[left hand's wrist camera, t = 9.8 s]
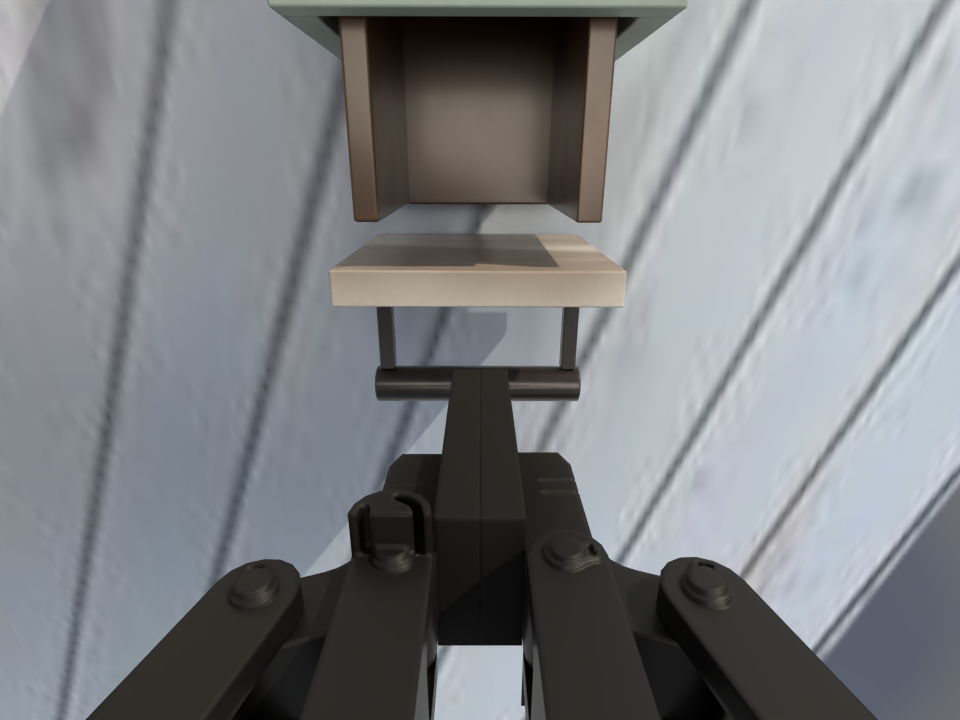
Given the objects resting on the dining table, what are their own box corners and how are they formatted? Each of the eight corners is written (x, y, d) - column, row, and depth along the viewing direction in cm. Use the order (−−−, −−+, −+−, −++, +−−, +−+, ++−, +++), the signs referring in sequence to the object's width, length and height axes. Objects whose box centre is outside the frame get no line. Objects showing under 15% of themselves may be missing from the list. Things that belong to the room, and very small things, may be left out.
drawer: (569, 360, 28) (609, 448, 19) (386, 359, 28) (345, 448, 19) (609, -253, 19) (713, -585, 11) (348, -255, 19) (243, -588, 11)
